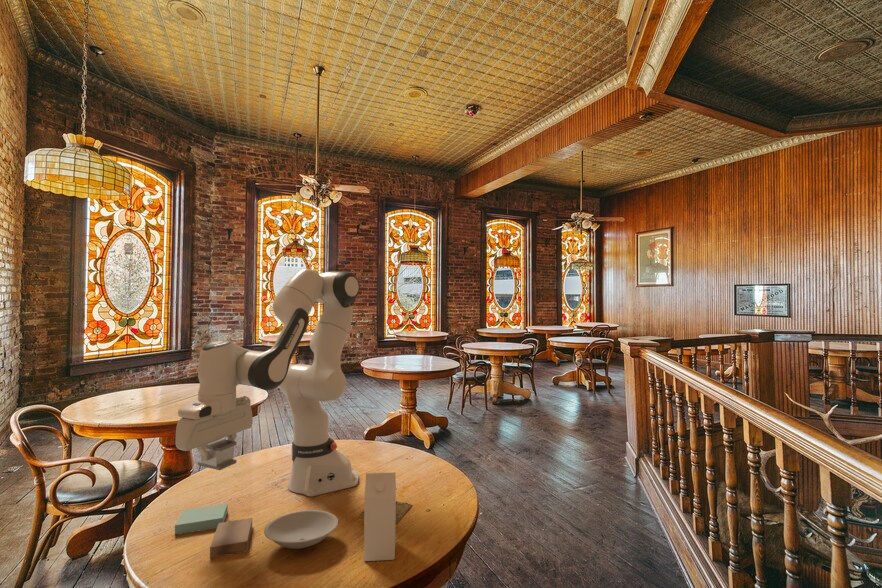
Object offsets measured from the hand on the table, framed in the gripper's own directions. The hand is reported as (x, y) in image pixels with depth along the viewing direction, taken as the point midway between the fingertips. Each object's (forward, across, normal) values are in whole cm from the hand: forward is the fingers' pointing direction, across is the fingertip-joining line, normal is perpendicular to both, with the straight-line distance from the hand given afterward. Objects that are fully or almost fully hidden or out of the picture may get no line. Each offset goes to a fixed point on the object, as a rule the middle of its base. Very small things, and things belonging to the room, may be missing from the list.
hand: (217, 455), depth 107 cm
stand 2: (+20, +2, +8) cm, 21 cm away
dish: (+20, -4, +25) cm, 32 cm away
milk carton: (+20, -9, +44) cm, 49 cm away
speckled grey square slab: (+21, -26, +36) cm, 49 cm away
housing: (+2, 0, 0) cm, 2 cm away
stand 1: (+20, -1, -7) cm, 21 cm away
